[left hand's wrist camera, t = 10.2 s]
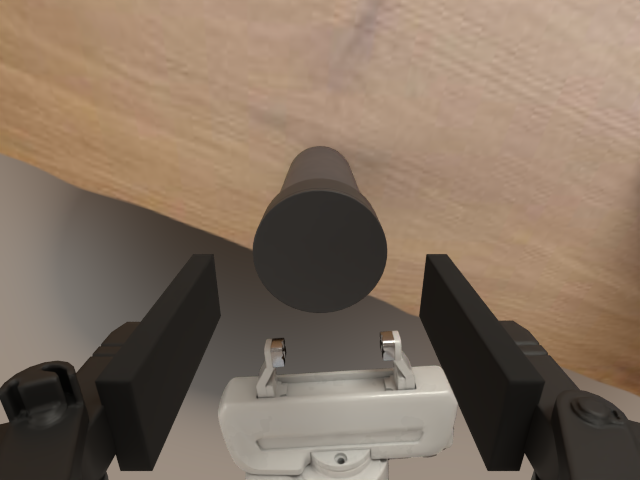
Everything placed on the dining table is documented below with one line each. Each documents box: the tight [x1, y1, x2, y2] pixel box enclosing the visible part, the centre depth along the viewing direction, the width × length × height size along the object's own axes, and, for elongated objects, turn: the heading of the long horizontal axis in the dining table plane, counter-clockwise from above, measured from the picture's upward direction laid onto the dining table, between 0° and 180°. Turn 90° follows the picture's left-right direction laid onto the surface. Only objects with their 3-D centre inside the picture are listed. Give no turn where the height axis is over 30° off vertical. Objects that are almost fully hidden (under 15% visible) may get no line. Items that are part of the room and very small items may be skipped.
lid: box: [253, 178, 387, 313], centre depth 18 cm, size 6×6×2 cm
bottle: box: [280, 146, 359, 192], centre depth 25 cm, size 6×6×16 cm
